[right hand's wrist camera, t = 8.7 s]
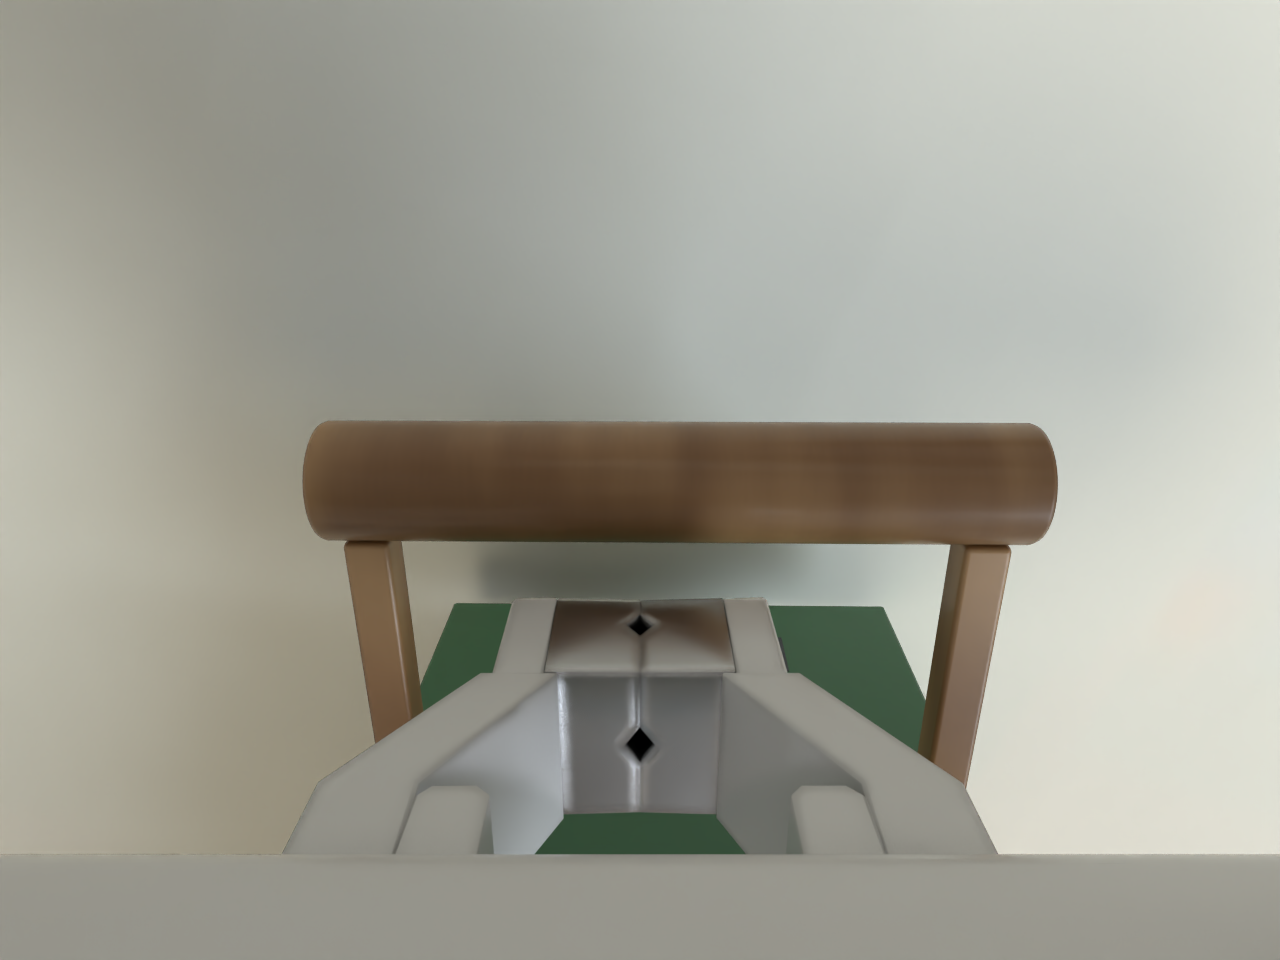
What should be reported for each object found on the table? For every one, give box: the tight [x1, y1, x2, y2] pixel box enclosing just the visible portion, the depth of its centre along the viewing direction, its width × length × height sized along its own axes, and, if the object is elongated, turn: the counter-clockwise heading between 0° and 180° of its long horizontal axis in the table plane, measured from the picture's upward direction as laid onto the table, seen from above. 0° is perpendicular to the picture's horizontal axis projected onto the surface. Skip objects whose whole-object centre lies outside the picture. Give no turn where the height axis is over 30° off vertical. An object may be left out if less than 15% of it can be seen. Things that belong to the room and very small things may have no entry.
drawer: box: [303, 421, 1058, 854], centre depth 16 cm, size 22×9×8 cm, turn 0°
